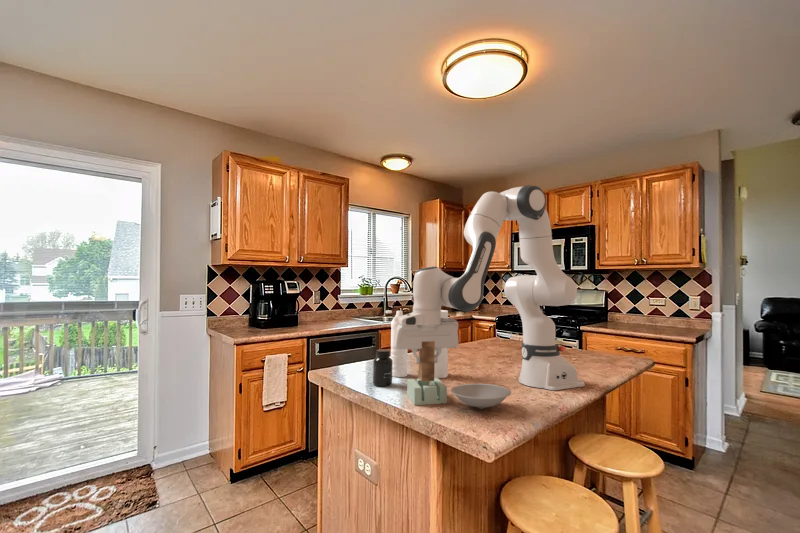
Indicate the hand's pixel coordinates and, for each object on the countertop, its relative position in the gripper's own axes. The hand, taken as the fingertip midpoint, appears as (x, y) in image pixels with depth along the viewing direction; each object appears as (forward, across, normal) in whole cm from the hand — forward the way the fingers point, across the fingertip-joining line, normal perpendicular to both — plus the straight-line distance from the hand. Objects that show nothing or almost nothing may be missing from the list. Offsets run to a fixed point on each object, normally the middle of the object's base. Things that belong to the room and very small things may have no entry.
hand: (426, 362), depth 117 cm
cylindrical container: (+11, -12, -26) cm, 31 cm away
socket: (+11, 0, 0) cm, 11 cm away
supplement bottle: (+11, +11, -18) cm, 24 cm away
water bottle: (+11, +4, -29) cm, 32 cm away
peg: (+5, 0, 0) cm, 5 cm away
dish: (+11, -14, +10) cm, 21 cm away
